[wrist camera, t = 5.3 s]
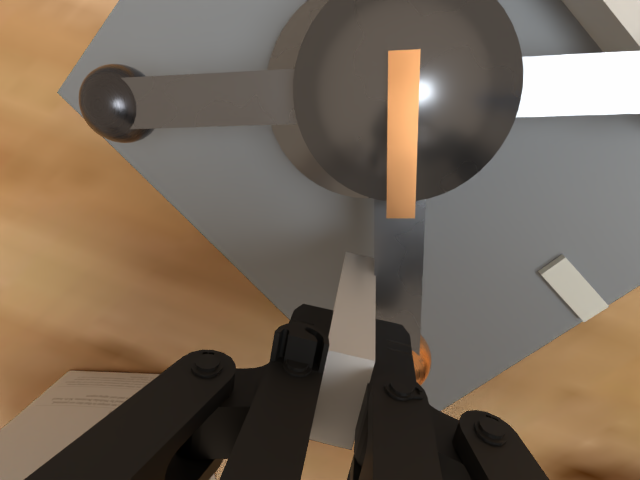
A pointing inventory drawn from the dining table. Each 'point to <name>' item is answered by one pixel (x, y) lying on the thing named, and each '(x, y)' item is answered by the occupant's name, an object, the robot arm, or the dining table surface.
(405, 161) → the capstan
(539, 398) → the dining table surface
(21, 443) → the supplement box
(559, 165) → the stand
